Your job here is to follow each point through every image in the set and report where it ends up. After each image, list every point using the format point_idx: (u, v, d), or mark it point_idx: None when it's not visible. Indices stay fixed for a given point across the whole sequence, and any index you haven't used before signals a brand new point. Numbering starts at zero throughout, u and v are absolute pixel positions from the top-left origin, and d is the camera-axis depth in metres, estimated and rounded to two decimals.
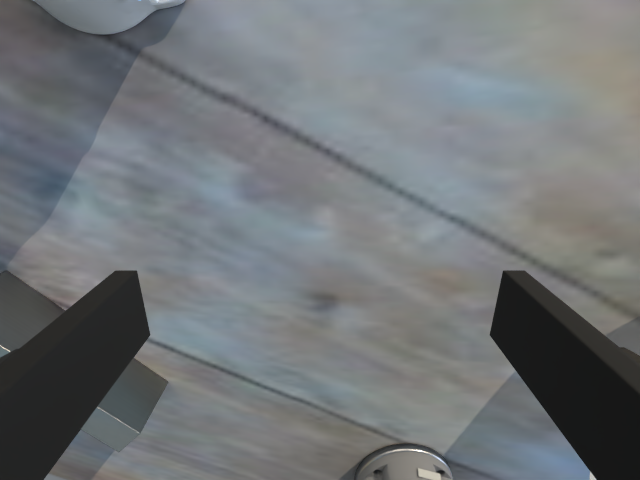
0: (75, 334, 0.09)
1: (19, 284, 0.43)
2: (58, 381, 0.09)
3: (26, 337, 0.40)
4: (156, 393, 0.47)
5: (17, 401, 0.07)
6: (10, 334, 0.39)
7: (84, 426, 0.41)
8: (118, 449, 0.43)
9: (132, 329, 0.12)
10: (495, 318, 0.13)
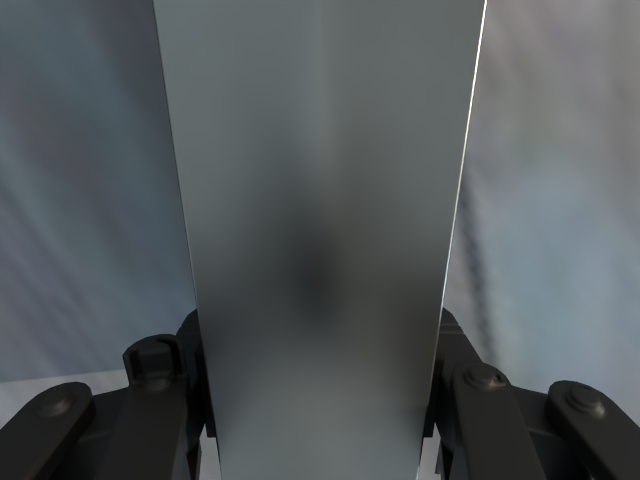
0: None
1: None
2: None
3: None
4: None
5: None
6: None
7: (246, 391, 0.07)
8: None
9: None
10: None
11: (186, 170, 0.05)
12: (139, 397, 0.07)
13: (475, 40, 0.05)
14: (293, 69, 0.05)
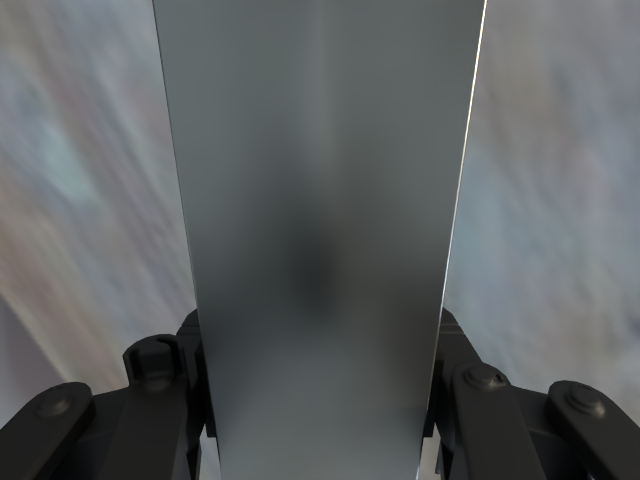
0: None
1: None
2: None
3: None
4: None
5: None
6: None
7: (247, 390, 0.07)
8: None
9: None
10: None
11: (186, 169, 0.05)
12: (139, 397, 0.07)
13: (476, 38, 0.05)
14: (293, 67, 0.05)
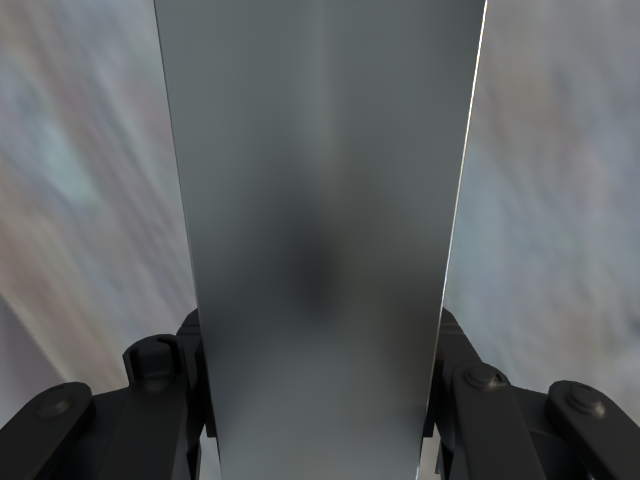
0: None
1: None
2: None
3: None
4: None
5: None
6: None
7: (247, 390, 0.07)
8: None
9: None
10: None
11: (187, 168, 0.05)
12: (139, 397, 0.07)
13: (476, 38, 0.05)
14: (294, 67, 0.05)
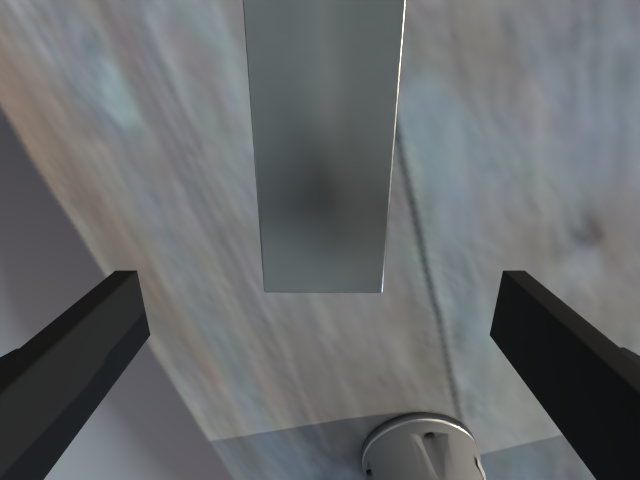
0: (75, 334, 0.09)
1: None
2: (58, 381, 0.09)
3: None
4: None
5: (17, 401, 0.07)
6: None
7: (278, 147, 0.11)
8: (273, 285, 0.13)
9: (132, 329, 0.12)
10: (495, 317, 0.13)
11: None
12: None
13: None
14: None
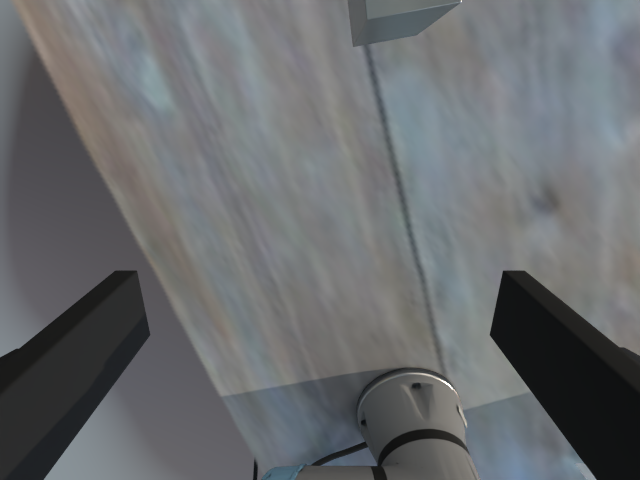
0: (75, 334, 0.09)
1: None
2: (58, 381, 0.09)
3: None
4: None
5: (17, 401, 0.07)
6: None
7: None
8: (374, 11, 0.16)
9: (132, 329, 0.12)
10: (495, 318, 0.13)
11: None
12: None
13: None
14: None
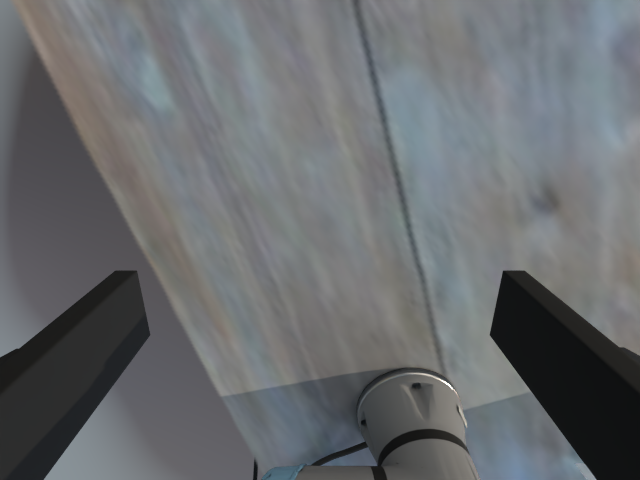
0: (75, 334, 0.09)
1: None
2: (58, 381, 0.09)
3: None
4: None
5: (17, 401, 0.07)
6: None
7: None
8: None
9: (132, 329, 0.12)
10: (495, 318, 0.13)
11: None
12: None
13: None
14: None
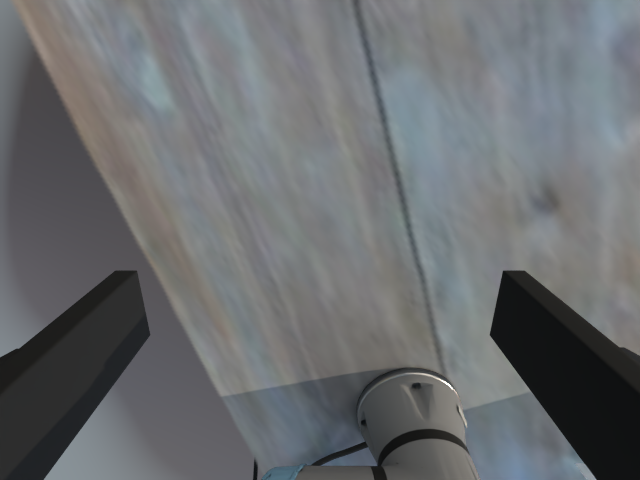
0: (75, 334, 0.09)
1: None
2: (58, 381, 0.09)
3: None
4: None
5: (17, 401, 0.07)
6: None
7: None
8: None
9: (132, 329, 0.12)
10: (495, 318, 0.13)
11: None
12: None
13: None
14: None
